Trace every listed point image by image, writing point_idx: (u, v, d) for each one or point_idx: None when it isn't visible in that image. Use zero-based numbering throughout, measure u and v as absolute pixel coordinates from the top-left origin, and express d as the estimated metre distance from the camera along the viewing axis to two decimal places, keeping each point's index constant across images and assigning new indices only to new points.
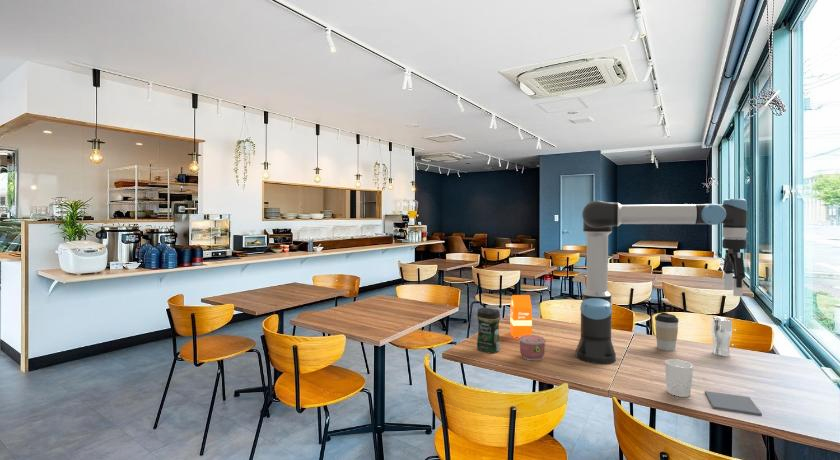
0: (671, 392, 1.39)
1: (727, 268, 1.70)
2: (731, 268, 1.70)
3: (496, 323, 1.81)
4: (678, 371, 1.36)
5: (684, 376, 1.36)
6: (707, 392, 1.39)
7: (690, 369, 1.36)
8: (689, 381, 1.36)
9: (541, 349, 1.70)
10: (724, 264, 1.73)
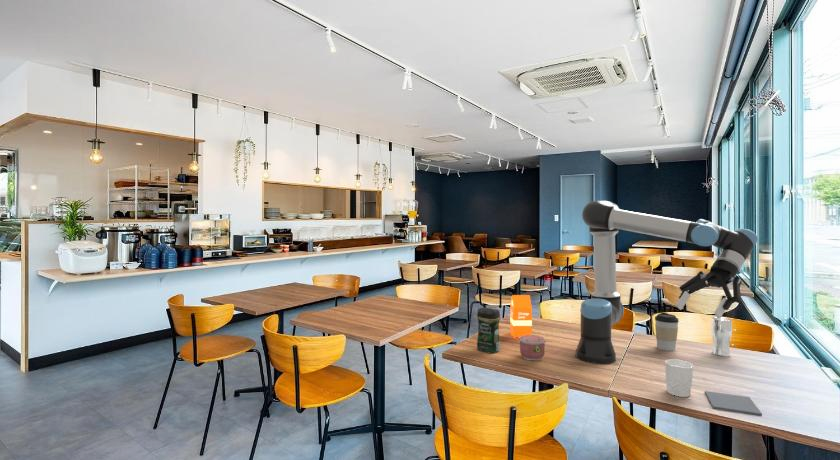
0: (671, 392, 1.39)
1: (693, 288, 1.53)
2: (695, 290, 1.53)
3: (496, 323, 1.81)
4: (678, 371, 1.36)
5: (684, 376, 1.36)
6: (707, 392, 1.39)
7: (690, 369, 1.36)
8: (689, 381, 1.36)
9: (541, 349, 1.70)
10: (687, 283, 1.55)
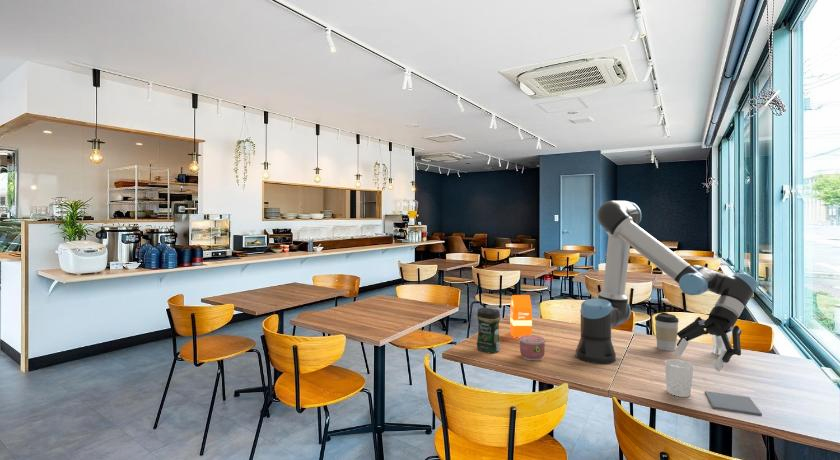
0: (671, 392, 1.39)
1: (691, 335, 1.47)
2: (693, 337, 1.48)
3: (496, 323, 1.81)
4: (678, 371, 1.36)
5: (684, 376, 1.36)
6: (707, 392, 1.39)
7: (690, 369, 1.36)
8: (689, 381, 1.36)
9: (541, 349, 1.70)
10: (685, 329, 1.50)
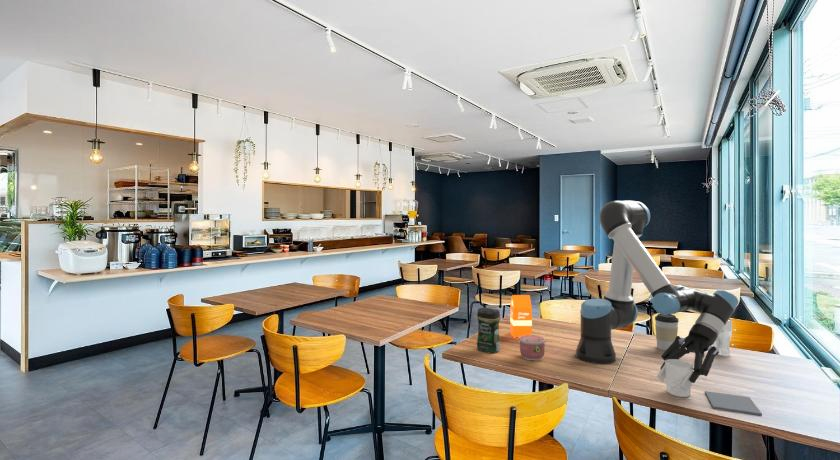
0: (671, 392, 1.39)
1: (674, 356, 1.44)
2: (677, 358, 1.44)
3: (496, 323, 1.81)
4: (678, 371, 1.36)
5: (684, 375, 1.36)
6: (707, 392, 1.39)
7: (690, 369, 1.36)
8: None
9: (541, 349, 1.70)
10: (668, 350, 1.46)
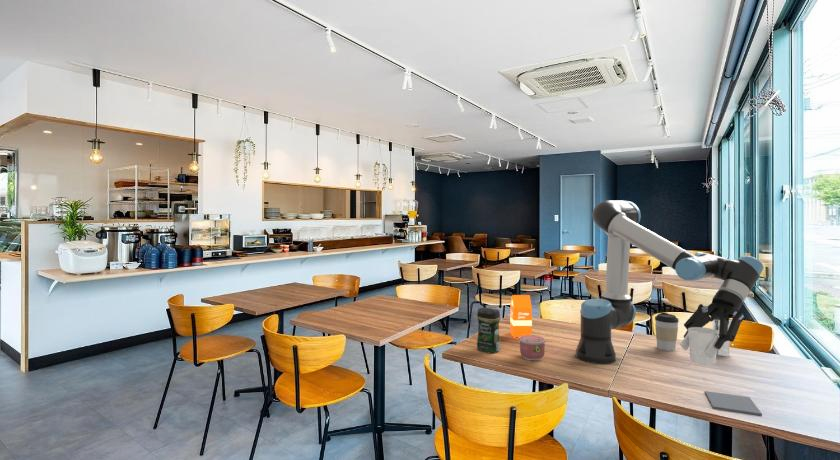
0: (695, 360, 1.34)
1: (698, 324, 1.39)
2: (700, 326, 1.40)
3: (496, 323, 1.81)
4: (702, 337, 1.32)
5: (709, 342, 1.31)
6: (707, 392, 1.39)
7: (715, 335, 1.31)
8: None
9: (541, 349, 1.70)
10: (691, 319, 1.42)
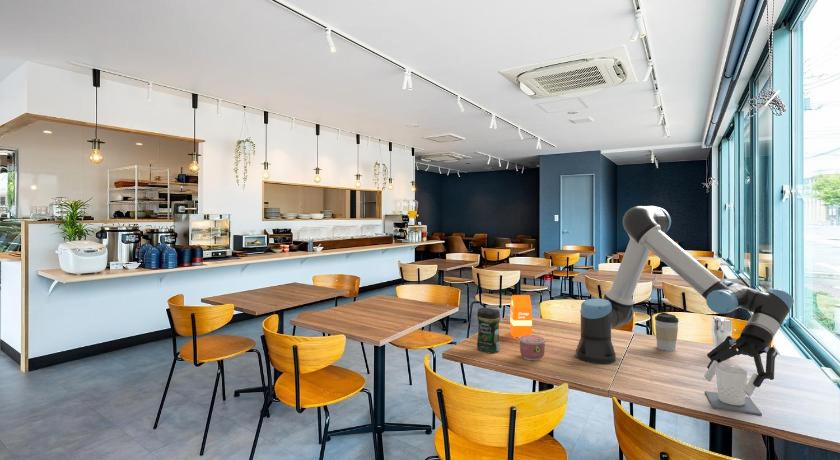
0: (724, 400, 1.31)
1: (723, 356, 1.37)
2: (725, 358, 1.37)
3: (496, 323, 1.81)
4: (732, 378, 1.29)
5: (739, 383, 1.28)
6: (707, 392, 1.39)
7: (745, 375, 1.28)
8: (744, 388, 1.29)
9: (541, 349, 1.70)
10: (716, 350, 1.40)
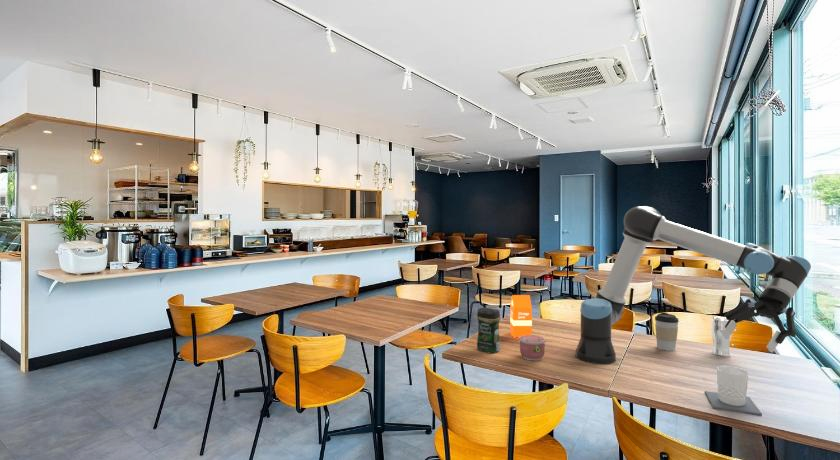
0: (724, 401, 1.31)
1: (740, 317, 1.45)
2: (742, 319, 1.46)
3: (496, 323, 1.81)
4: (733, 378, 1.28)
5: (739, 383, 1.28)
6: (707, 392, 1.39)
7: (746, 376, 1.28)
8: (744, 389, 1.28)
9: (541, 349, 1.70)
10: (734, 311, 1.48)
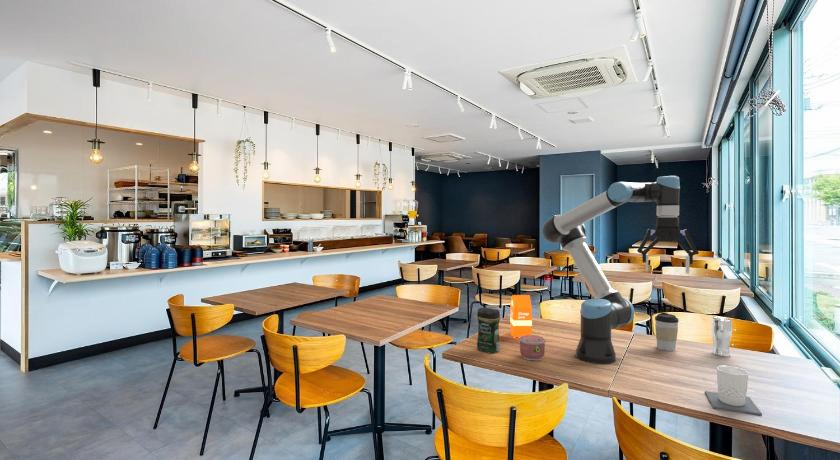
0: (724, 401, 1.31)
1: (650, 248, 1.64)
2: None
3: (496, 323, 1.81)
4: (733, 378, 1.28)
5: (739, 383, 1.28)
6: (707, 392, 1.39)
7: (746, 376, 1.28)
8: (744, 389, 1.28)
9: (541, 349, 1.70)
10: (643, 245, 1.64)
